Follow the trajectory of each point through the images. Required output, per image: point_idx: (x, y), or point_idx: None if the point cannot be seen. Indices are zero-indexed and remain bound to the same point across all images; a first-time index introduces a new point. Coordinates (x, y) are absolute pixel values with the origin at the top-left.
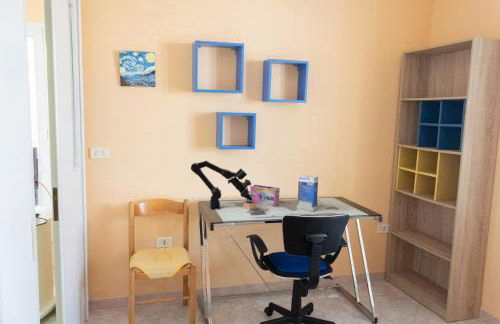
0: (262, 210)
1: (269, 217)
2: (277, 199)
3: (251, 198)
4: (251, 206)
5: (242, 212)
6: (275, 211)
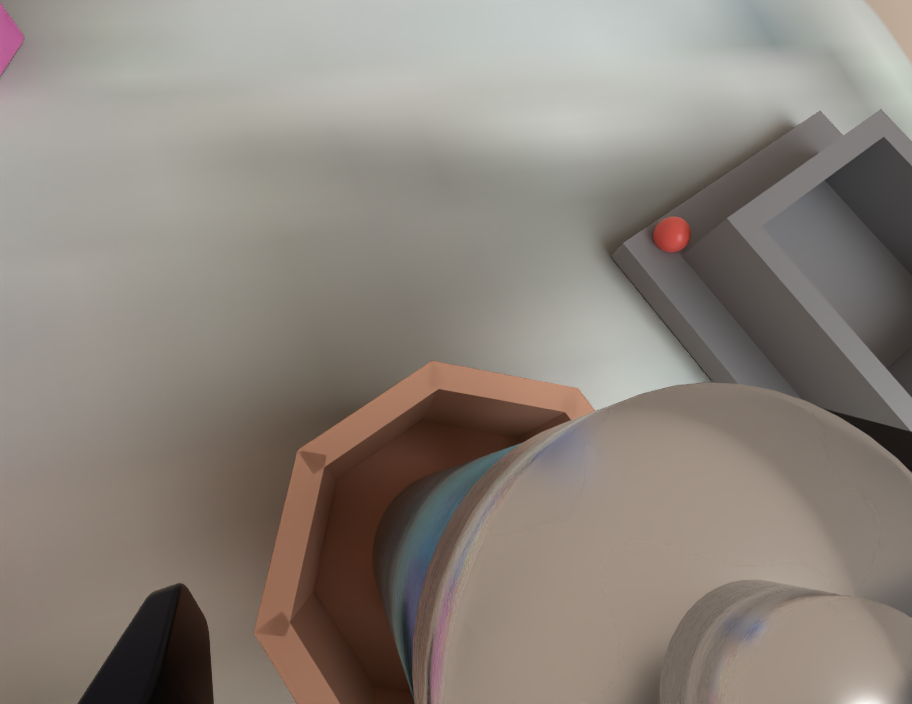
0: (887, 131)
1: (856, 78)
2: None
3: None
4: None
5: None
6: (458, 13)
